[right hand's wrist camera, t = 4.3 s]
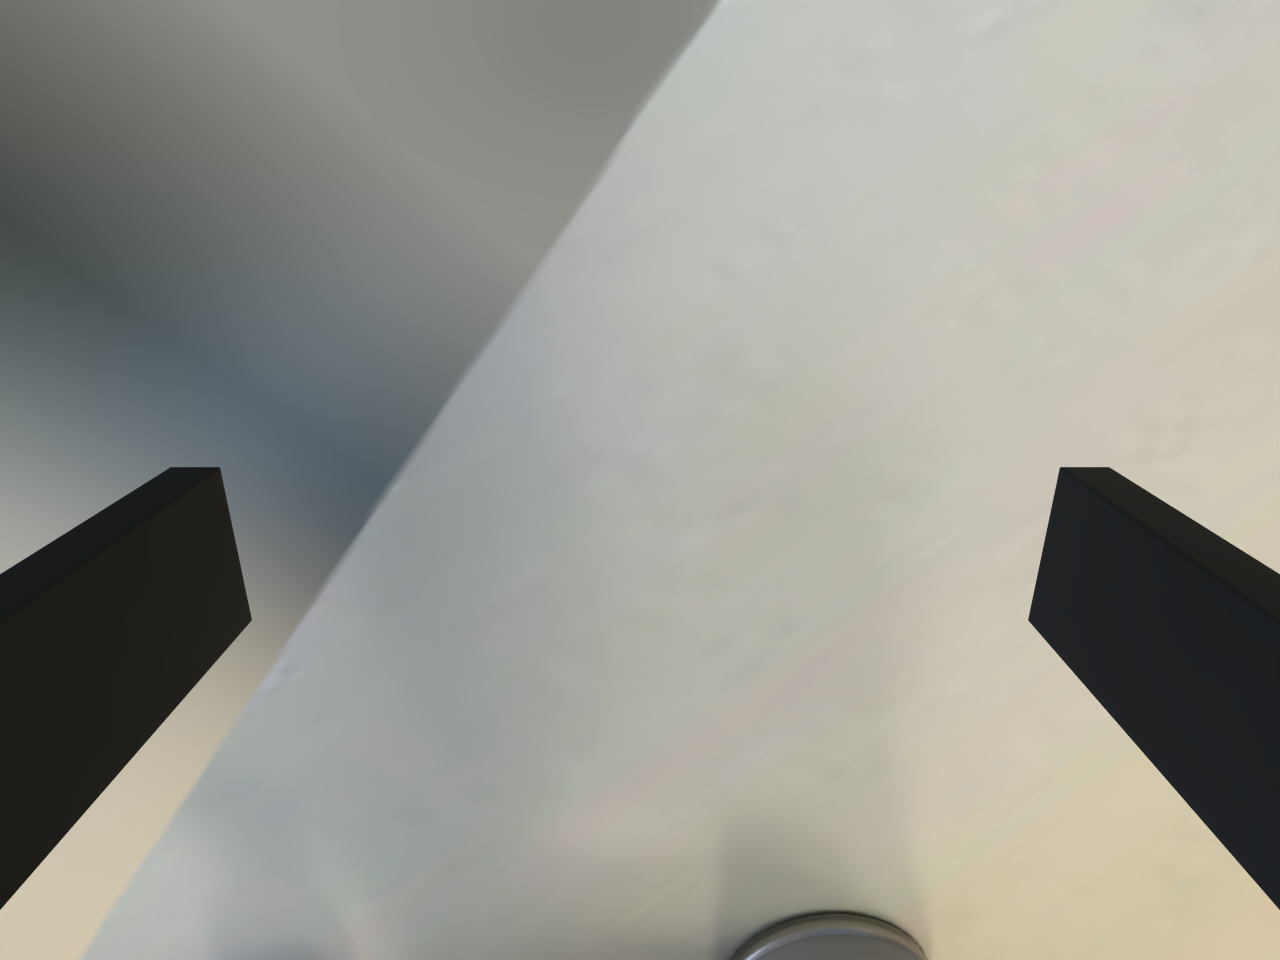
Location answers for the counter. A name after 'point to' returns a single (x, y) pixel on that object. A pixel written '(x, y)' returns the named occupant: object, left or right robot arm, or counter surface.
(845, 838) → the counter surface
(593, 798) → the counter surface
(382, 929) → the counter surface
